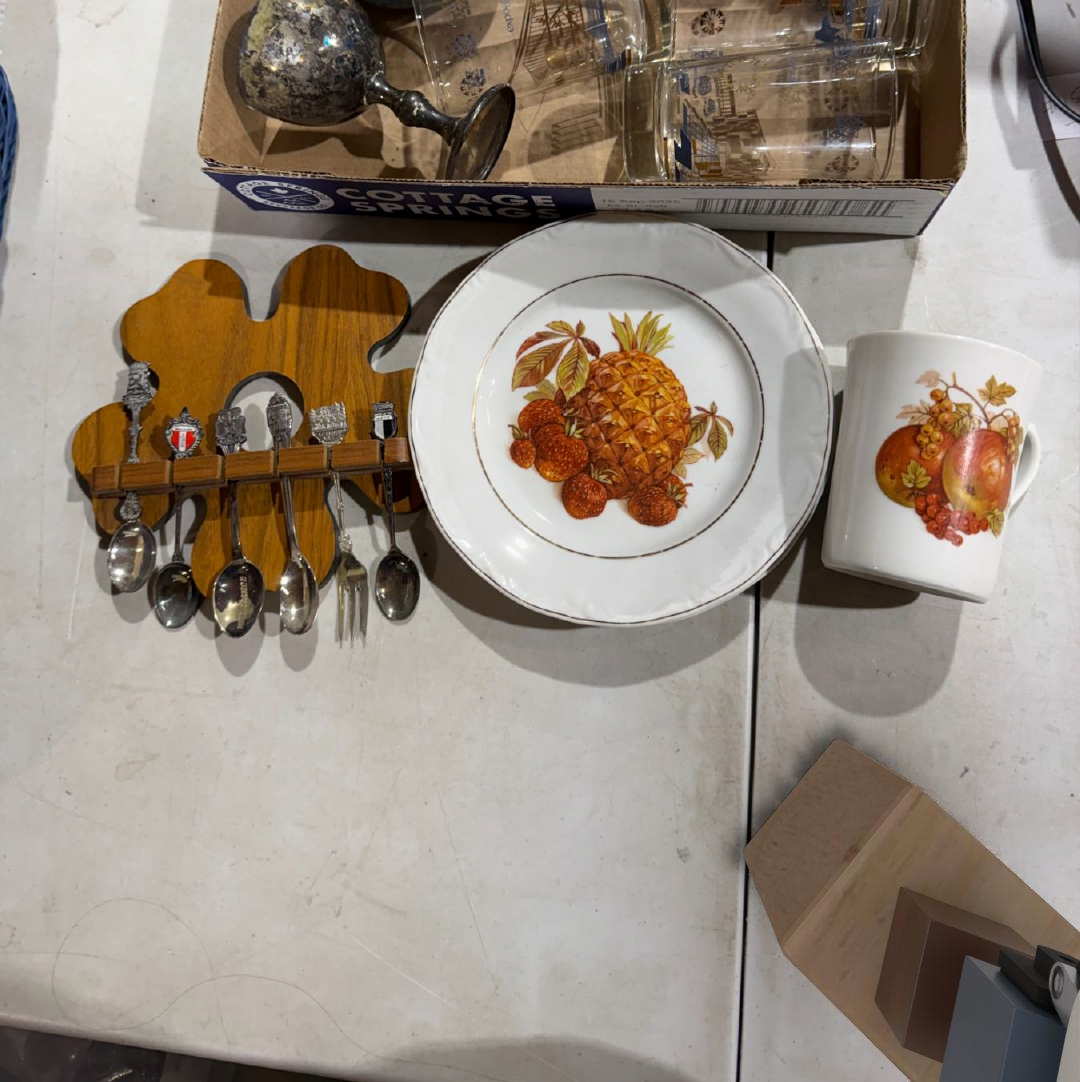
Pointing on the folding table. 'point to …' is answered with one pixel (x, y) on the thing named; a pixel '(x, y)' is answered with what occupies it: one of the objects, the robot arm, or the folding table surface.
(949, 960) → the walnut cube
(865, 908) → the wooden block
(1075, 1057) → the robot arm
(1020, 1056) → the slate cube
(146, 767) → the folding table surface
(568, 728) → the folding table surface
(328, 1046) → the folding table surface
